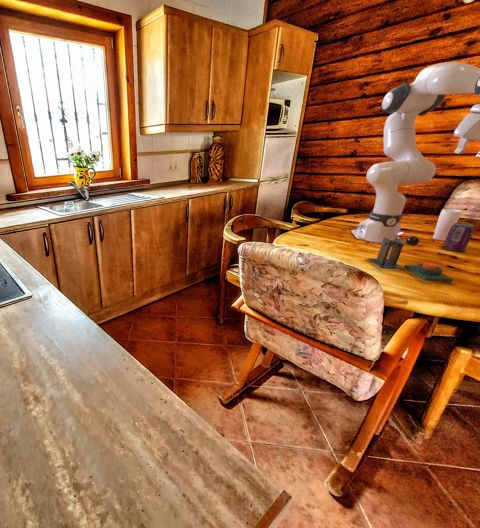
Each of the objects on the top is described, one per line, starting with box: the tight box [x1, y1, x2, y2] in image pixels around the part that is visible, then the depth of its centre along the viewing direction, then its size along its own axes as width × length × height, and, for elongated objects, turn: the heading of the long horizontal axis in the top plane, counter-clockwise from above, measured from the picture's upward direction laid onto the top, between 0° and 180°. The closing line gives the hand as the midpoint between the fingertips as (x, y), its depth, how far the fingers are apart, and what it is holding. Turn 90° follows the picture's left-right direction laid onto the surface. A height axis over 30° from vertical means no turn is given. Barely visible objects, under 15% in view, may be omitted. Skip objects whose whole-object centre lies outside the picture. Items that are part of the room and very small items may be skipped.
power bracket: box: [368, 237, 405, 270], centre depth 115 cm, size 10×8×12 cm
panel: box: [403, 263, 454, 283], centre depth 107 cm, size 12×8×4 cm, turn 165°
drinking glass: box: [432, 208, 463, 242], centre depth 138 cm, size 7×7×15 cm
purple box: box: [442, 222, 475, 252], centre depth 127 cm, size 7×7×12 cm
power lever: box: [390, 235, 420, 248], centre depth 108 cm, size 14×4×4 cm, turn 165°
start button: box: [422, 261, 439, 270], centre depth 106 cm, size 4×4×2 cm
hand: (468, 155), depth 96 cm, fingers open, 8 cm apart
